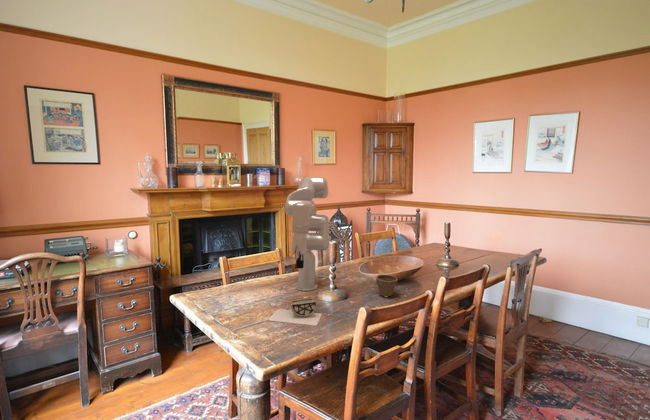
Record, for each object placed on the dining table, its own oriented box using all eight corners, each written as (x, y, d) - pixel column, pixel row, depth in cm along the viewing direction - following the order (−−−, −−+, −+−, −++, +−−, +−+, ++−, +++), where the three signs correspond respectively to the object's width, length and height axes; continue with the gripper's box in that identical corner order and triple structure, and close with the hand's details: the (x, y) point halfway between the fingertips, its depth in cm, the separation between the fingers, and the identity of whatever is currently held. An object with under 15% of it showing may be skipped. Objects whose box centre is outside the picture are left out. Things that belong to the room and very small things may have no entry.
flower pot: (401, 297, 194) (402, 279, 192) (384, 300, 189) (384, 282, 187) (388, 290, 204) (388, 273, 203) (371, 293, 199) (372, 275, 197)
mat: (277, 309, 173) (277, 308, 173) (322, 314, 169) (322, 313, 169) (268, 320, 161) (268, 320, 161) (316, 326, 157) (316, 325, 157)
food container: (289, 314, 172) (291, 319, 162) (289, 301, 173) (290, 305, 163) (315, 311, 175) (318, 315, 165) (314, 298, 175) (317, 302, 165)
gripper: (296, 226, 173) (296, 263, 176) (287, 231, 159) (287, 271, 161) (312, 227, 172) (311, 264, 174) (304, 232, 158) (303, 273, 160)
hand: (299, 267), depth 168 cm, fingers closed
